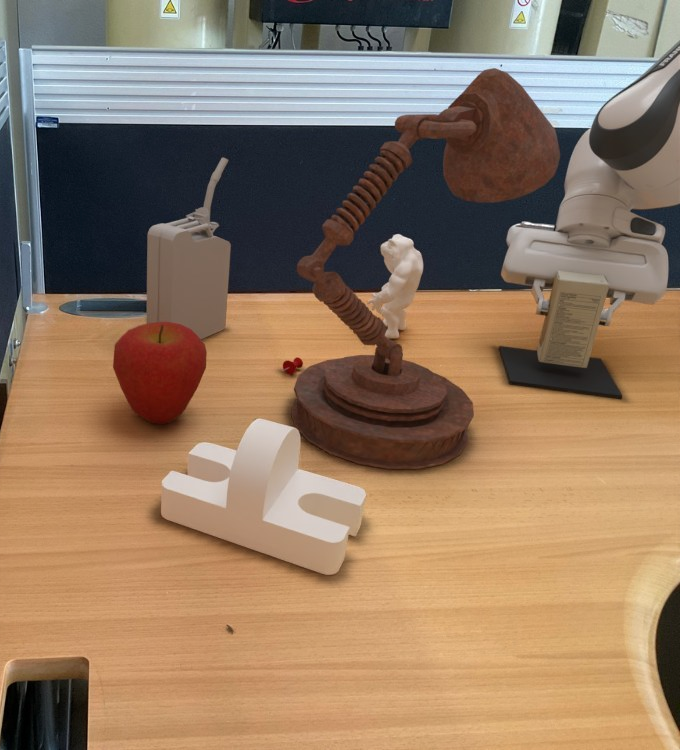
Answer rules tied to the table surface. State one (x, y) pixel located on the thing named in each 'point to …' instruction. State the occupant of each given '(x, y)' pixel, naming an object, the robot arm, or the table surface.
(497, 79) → the desk lamp
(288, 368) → the pushpin
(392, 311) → the figurine
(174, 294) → the gas can
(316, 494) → the white u-slot block
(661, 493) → the table surface
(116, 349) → the apple
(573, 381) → the mat
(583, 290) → the cosmetic box
